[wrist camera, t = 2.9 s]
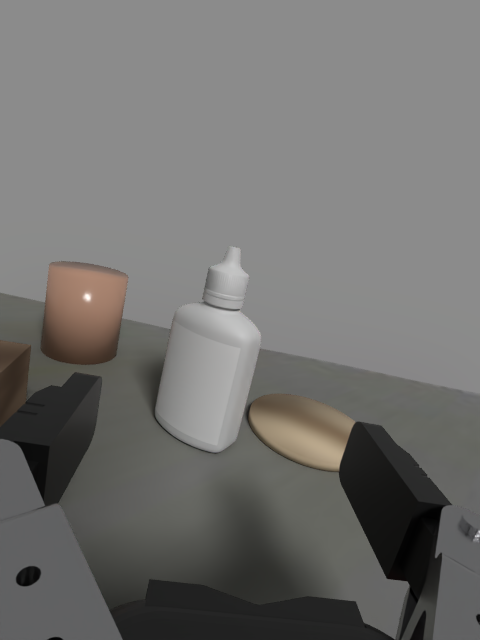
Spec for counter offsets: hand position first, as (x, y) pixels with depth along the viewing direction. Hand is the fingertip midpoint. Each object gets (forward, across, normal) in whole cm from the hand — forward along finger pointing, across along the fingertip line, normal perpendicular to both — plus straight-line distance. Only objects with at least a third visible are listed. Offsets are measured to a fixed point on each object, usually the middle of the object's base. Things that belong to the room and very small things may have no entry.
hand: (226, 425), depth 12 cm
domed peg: (+21, +11, +7) cm, 24 cm away
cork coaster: (+14, -8, +7) cm, 18 cm away
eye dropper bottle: (+11, 0, +8) cm, 14 cm away
